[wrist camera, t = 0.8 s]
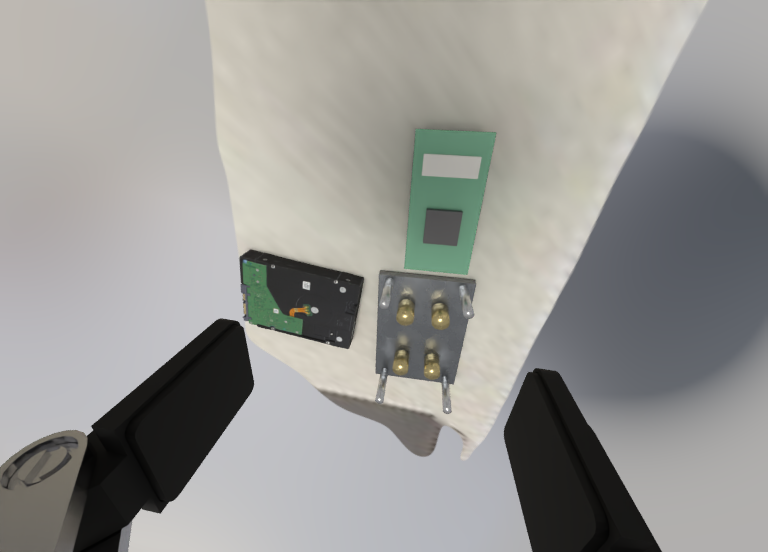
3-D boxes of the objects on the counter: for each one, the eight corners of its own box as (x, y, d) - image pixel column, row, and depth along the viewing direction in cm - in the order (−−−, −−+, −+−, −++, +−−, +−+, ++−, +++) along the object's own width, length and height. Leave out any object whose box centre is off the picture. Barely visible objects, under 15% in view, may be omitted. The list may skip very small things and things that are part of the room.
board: (416, 129, 23) (415, 128, 21) (491, 132, 22) (498, 132, 20) (405, 260, 29) (403, 271, 26) (464, 265, 28) (468, 277, 26)
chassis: (380, 270, 33) (371, 296, 28) (474, 279, 32) (484, 309, 27) (376, 368, 40) (369, 403, 35) (453, 378, 39) (457, 416, 34)
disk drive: (365, 273, 34) (249, 247, 35) (361, 284, 32) (236, 256, 32) (354, 336, 39) (253, 313, 40) (349, 350, 37) (242, 325, 37)
